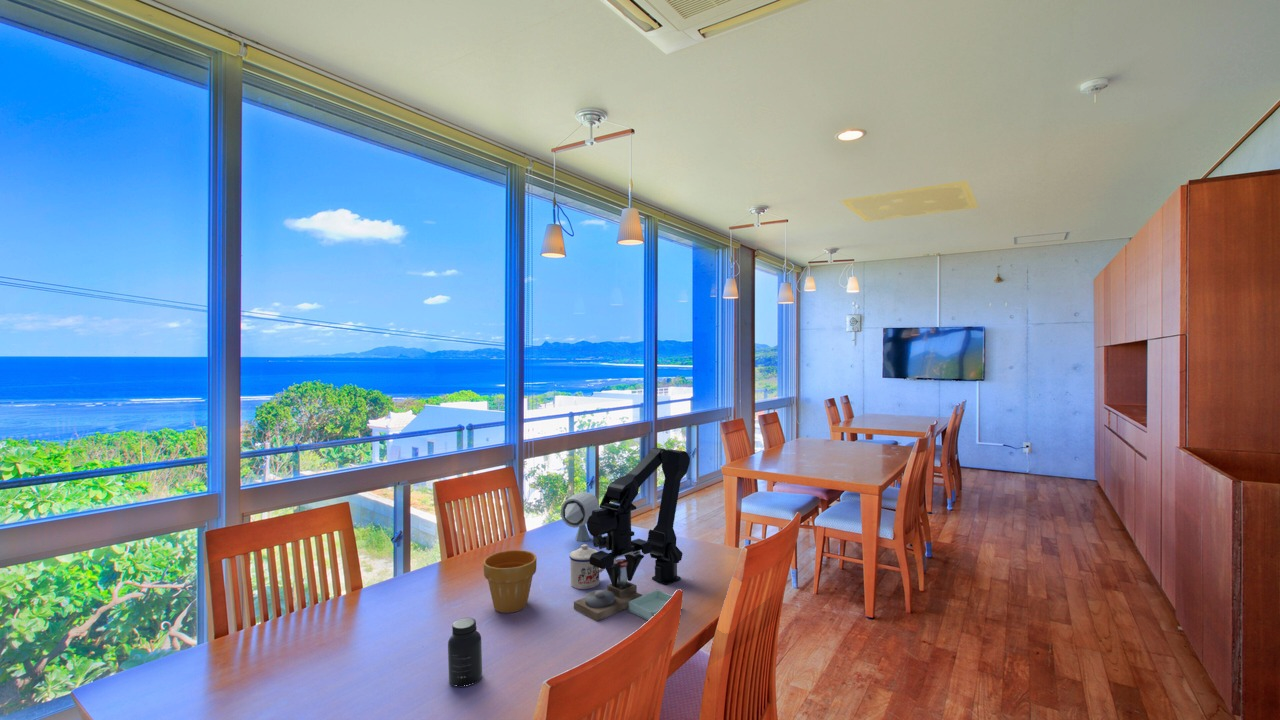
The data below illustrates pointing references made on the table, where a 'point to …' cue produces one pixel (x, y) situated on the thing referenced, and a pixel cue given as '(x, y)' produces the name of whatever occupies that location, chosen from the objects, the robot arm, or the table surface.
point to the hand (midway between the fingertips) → (621, 583)
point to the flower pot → (510, 578)
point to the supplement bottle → (464, 653)
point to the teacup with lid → (583, 568)
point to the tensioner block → (606, 601)
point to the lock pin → (622, 573)
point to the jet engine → (579, 513)
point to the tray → (648, 604)
